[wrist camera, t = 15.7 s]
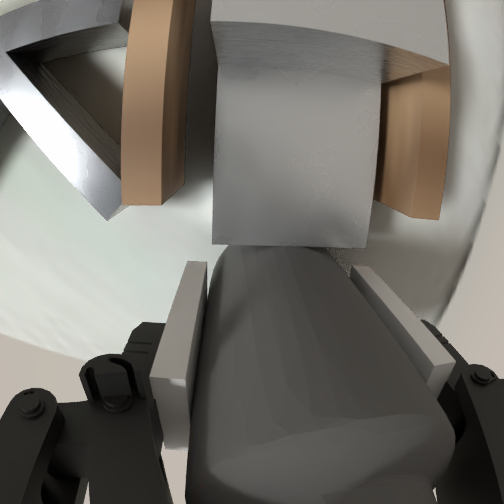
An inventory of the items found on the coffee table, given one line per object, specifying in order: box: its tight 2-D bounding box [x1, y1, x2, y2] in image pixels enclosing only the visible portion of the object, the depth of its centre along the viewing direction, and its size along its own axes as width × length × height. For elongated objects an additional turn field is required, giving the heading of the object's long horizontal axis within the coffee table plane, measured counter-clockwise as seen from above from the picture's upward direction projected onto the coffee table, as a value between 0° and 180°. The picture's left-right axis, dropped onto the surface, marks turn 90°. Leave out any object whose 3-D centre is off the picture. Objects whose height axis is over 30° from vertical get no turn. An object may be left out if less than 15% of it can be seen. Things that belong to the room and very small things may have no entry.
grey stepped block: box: [210, 0, 449, 248], centre depth 9 cm, size 10×6×7 cm, turn 177°
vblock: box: [0, 0, 134, 221], centre depth 10 cm, size 9×14×3 cm, turn 87°
